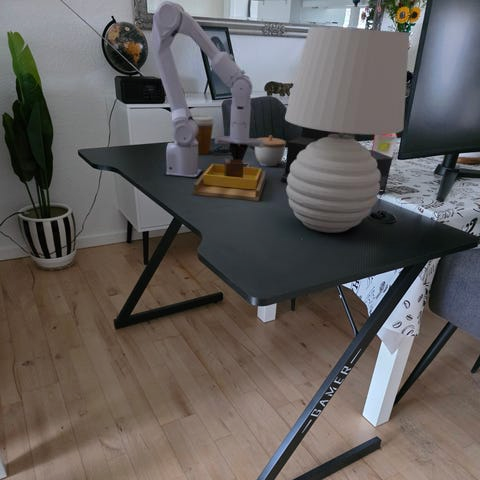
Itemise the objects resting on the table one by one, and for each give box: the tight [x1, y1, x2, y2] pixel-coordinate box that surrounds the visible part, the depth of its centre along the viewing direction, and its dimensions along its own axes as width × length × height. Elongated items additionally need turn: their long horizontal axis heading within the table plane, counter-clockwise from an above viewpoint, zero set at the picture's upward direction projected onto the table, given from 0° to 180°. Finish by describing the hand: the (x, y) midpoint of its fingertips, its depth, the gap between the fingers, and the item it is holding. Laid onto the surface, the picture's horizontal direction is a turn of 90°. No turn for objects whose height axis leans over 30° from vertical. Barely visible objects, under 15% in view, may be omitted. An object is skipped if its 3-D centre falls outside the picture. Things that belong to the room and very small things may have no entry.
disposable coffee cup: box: [192, 114, 215, 155], centre depth 163 cm, size 10×10×12 cm
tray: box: [203, 162, 262, 190], centre depth 134 cm, size 15×18×3 cm
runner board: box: [193, 165, 267, 202], centre depth 131 cm, size 18×22×3 cm
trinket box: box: [254, 134, 287, 167], centre depth 155 cm, size 11×11×9 cm
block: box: [223, 158, 244, 178], centre depth 130 cm, size 5×5×5 cm
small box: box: [368, 149, 394, 195], centre depth 135 cm, size 11×6×10 cm, turn 23°
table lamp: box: [284, 26, 410, 234], centre depth 99 cm, size 25×25×40 cm
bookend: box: [280, 126, 346, 183], centre depth 139 cm, size 23×11×24 cm, turn 149°
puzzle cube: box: [371, 133, 398, 158], centre depth 178 cm, size 8×8×8 cm
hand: (237, 169), depth 139 cm, fingers closed, pressing on tray
